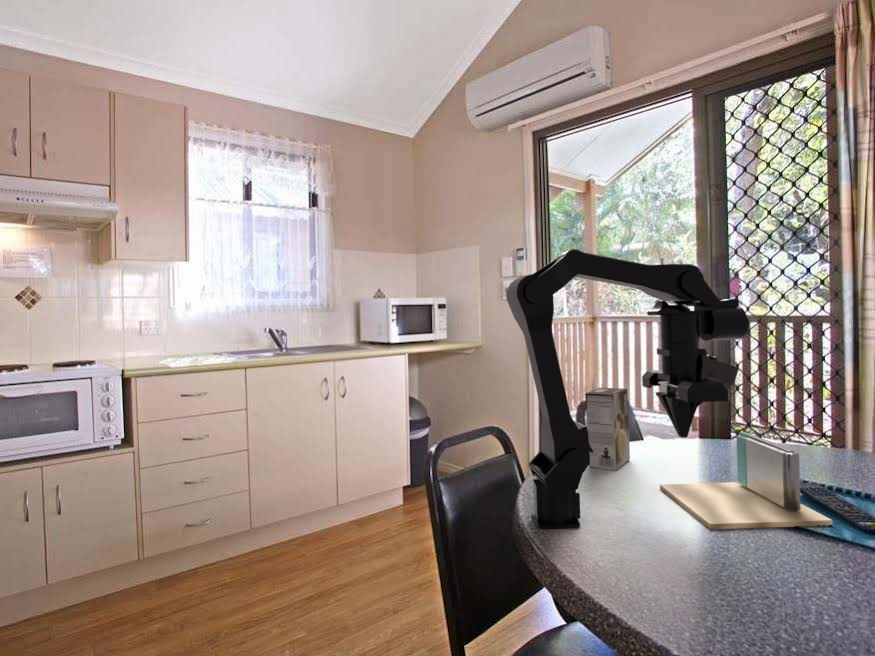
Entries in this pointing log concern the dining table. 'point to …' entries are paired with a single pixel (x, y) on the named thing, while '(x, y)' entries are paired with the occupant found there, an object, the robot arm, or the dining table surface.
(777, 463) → the jaw
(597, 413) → the coffee box
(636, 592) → the dining table surface
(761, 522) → the base
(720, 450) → the dining table surface
